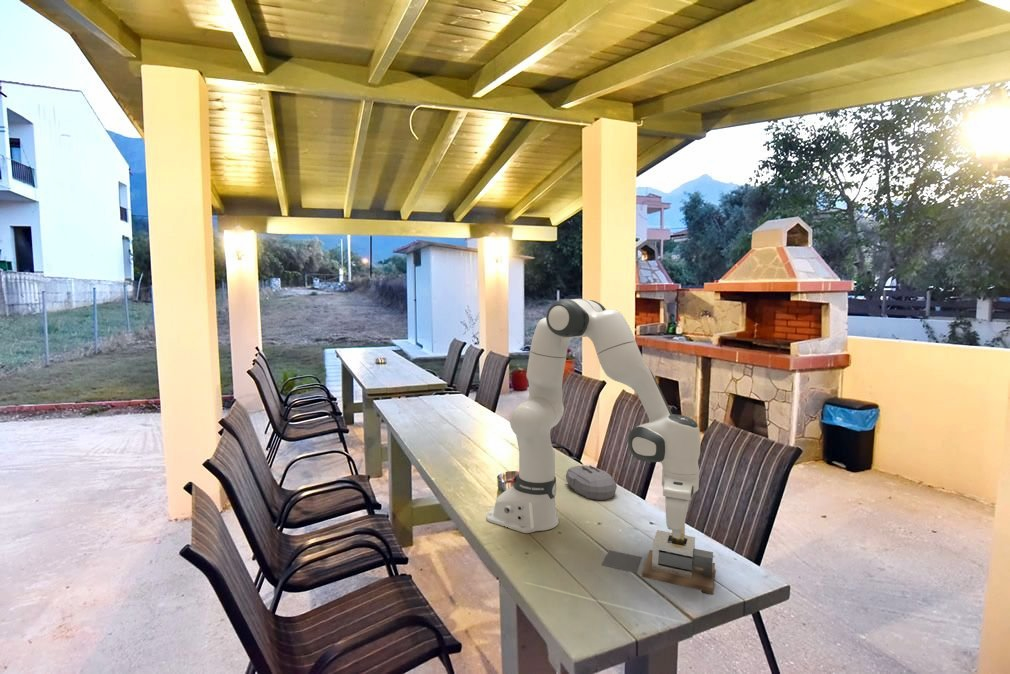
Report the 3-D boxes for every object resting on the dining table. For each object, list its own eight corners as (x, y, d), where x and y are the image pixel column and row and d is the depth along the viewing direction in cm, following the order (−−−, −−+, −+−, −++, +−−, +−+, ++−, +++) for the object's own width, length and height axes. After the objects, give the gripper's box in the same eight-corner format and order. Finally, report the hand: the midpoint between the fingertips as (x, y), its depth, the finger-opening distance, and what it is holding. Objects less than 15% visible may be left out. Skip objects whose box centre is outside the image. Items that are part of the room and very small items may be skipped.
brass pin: (670, 561, 133) (672, 500, 131) (671, 556, 135) (674, 496, 134) (682, 564, 131) (685, 502, 130) (683, 559, 134) (686, 498, 133)
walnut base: (641, 578, 131) (642, 572, 131) (649, 555, 143) (649, 549, 142) (712, 594, 124) (713, 588, 124) (714, 568, 136) (714, 563, 136)
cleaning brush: (560, 484, 195) (588, 504, 177) (560, 462, 195) (589, 480, 176) (594, 479, 201) (625, 498, 183) (595, 458, 200) (626, 475, 182)
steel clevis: (651, 569, 132) (652, 542, 132) (656, 555, 139) (657, 530, 139) (711, 582, 126) (712, 554, 126) (712, 567, 134) (713, 540, 133)
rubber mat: (601, 567, 136) (601, 565, 136) (608, 551, 144) (608, 549, 144) (636, 574, 132) (636, 573, 132) (642, 558, 140) (642, 557, 140)
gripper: (671, 466, 143) (669, 515, 144) (662, 491, 124) (659, 548, 125) (696, 469, 140) (694, 519, 141) (690, 496, 121) (687, 553, 122)
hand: (677, 533), depth 133 cm, fingers closed on brass pin, 3 cm apart
